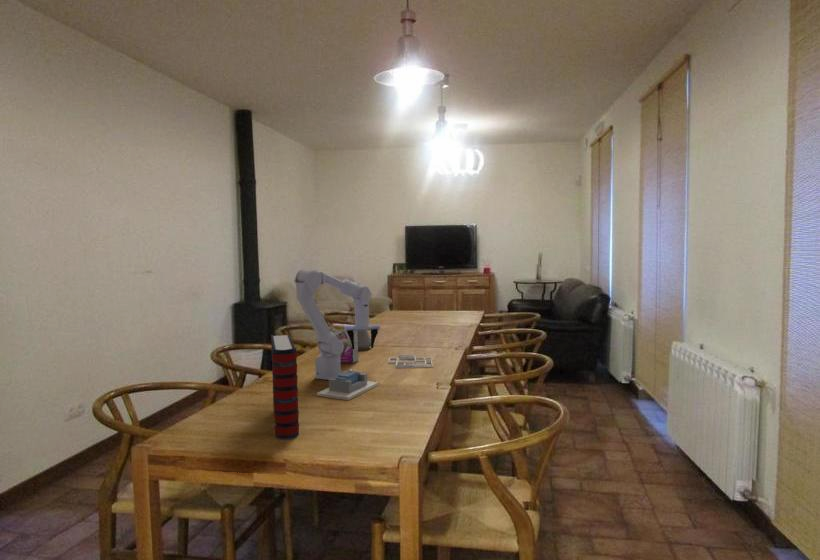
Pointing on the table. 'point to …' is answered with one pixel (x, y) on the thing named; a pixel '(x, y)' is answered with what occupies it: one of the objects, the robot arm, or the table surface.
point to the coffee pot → (363, 340)
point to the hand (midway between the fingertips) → (362, 348)
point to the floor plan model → (410, 362)
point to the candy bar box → (346, 343)
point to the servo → (349, 376)
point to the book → (285, 387)
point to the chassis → (347, 388)
